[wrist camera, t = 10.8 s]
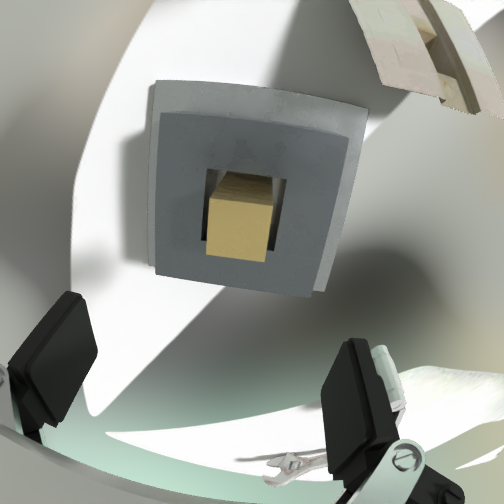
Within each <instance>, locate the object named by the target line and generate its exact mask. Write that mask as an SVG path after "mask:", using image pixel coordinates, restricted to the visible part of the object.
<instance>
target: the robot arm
mask: <svg viewBox="0 0 504 504" xmlns="http://www.w3.org/2000/svg"><path fill="white" fill-rule="evenodd" d="M97 353H98V349H97V345H96V342H95V338H94V334H93V330H92V326H91V322H90V318H89V314H88V310H87V305H86V301H85V299H83V298H82V295H81V294H79V293H75V292H71V291H66V292H65V293H64V294H63V295H62V296H61V297H60V298H59V299H58V301H57V302H56V303H55V304H54V305H53V306H52V308H51V309H50V310H49V311H48V312H47V314H46V315H45V316H44V317H43V318H42V320H41V321H40V322H39V323H38V325H37V326H36V327H35V328H34V329H33V331H32V332H31V333H30V335H29V336H28V337H27V339H26V340H25V341H24V342H23V344H22V345H21V347H20V348H19V349H18V350H17V351H16V353H15V354H14V355H13V357H12V358H11V360H10V361H9V362H8V365H9V366H8V367H7V369H6V368H5V367H4V366H3V365H1V364H0V504H254V503H243V502H233V501H225V500H217V499H210V498H204V497H198V496H192V495H187V494H182V493H178V492H173V491H169V490H164V489H160V488H156V487H152V486H149V485H145V484H141V483H138V482H134V481H131V480H128V479H124V478H122V477H118V476H115V475H113V474H109V473H107V472H104V471H101V470H98V469H96V468H93V467H91V466H88V465H86V464H83V463H80V462H78V461H76V460H73V459H71V458H69V457H67V456H64V455H62V454H60V453H58V452H56V451H54V450H51V449H49V448H48V447H47V444H46V440H45V437H44V433H43V429H42V427H43V425H44V423H47V424H49V425H51V426H53V427H55V428H56V427H57V425H58V423H59V422H62V421H63V420H64V418H65V416H66V414H67V412H68V410H69V408H70V406H71V404H72V402H73V400H74V398H75V396H76V394H77V392H78V390H79V388H80V386H81V385H82V383H83V381H84V379H85V377H86V375H87V374H88V372H89V370H90V368H91V366H92V365H93V363H94V361H95V359H96V357H97ZM321 403H322V412H323V421H324V431H325V441H326V452H327V463H328V472H329V473H330V474H333V480H343V483H344V488H345V489H344V490H343V491H342V493H341V494H340V495H339V496H338V498H337V499H336V500H335V501H334V502H333V503H332V504H464V502H465V496H464V492H463V490H462V489H461V487H460V486H458V485H457V484H455V483H454V482H452V481H451V480H449V479H447V478H446V477H444V476H443V475H441V474H439V473H438V472H436V471H435V470H433V469H432V468H430V467H428V466H427V465H426V464H425V462H426V457H425V453H424V450H423V449H422V448H421V446H420V445H419V444H417V443H416V442H414V441H412V440H408V439H402V440H400V438H399V434H398V430H397V427H396V423H395V419H394V415H393V412H392V408H391V405H390V401H389V398H388V394H387V391H386V387H385V384H384V381H383V379H382V377H381V376H380V375H378V374H377V371H376V368H375V364H374V361H373V358H372V355H371V352H370V349H369V345H368V342H367V340H366V339H361V338H350V339H349V340H348V341H347V342H343V344H342V346H341V348H340V351H339V353H338V355H337V357H336V359H335V362H334V364H333V366H332V368H331V370H330V372H329V374H328V376H327V378H326V380H325V382H324V384H323V386H322V389H321Z"/></svg>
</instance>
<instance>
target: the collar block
mask: <svg viewBox="0 0 504 504" xmlns="http://www.w3.org/2000/svg"><path fill="white" fill-rule="evenodd" d="M368 111H369V109H367V108H363V107H359V106H355V105H352V104H348V103H344V102H339V101H335V100H331V99H326V98H322V97H317V96H312V95H307V94H302V93H296V92H291V91H285V90H278V89H272V88H265V87H257V86H249V85H240V84H230V83H219V82H204V81H182V80H156V84H155V92H154V102H153V112H152V123H151V136H150V152H149V173H148V264H149V266H154V267H155V273H156V275H161V276H167V277H173V278H179V279H185V280H191V281H197V282H204V283H210V284H216V285H223V286H229V287H236V288H243V289H250V290H257V291H264V292H271V293H278V294H286V295H294V296H301V297H309V298H310V297H311V294H312V291H313V290H316V291H323V292H324V290H325V288H326V284H327V281H328V278H329V274H330V271H331V268H332V264H333V261H334V257H335V254H336V250H337V246H338V243H339V240H340V236H341V232H342V228H343V224H344V221H345V217H346V213H347V209H348V205H349V201H350V197H351V193H352V188H353V184H354V180H355V176H356V171H357V167H358V162H359V157H360V153H361V148H362V143H363V138H364V133H365V128H366V122H367V117H368ZM227 171H233V172H240V173H247V174H254V175H261V176H268V177H272V185H273V211H272V217H271V224H270V230H269V237H268V243H267V249H266V256H265V262H258V261H251V260H243V259H236V258H228V257H221V256H213V255H206V245H207V229H208V214H209V200H210V197H211V195H212V194H213V192H214V191H215V189H216V188H217V186H218V185H219V183H220V182H221V180H222V179H223V177H224V175H225V174H226V172H227Z"/></svg>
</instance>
